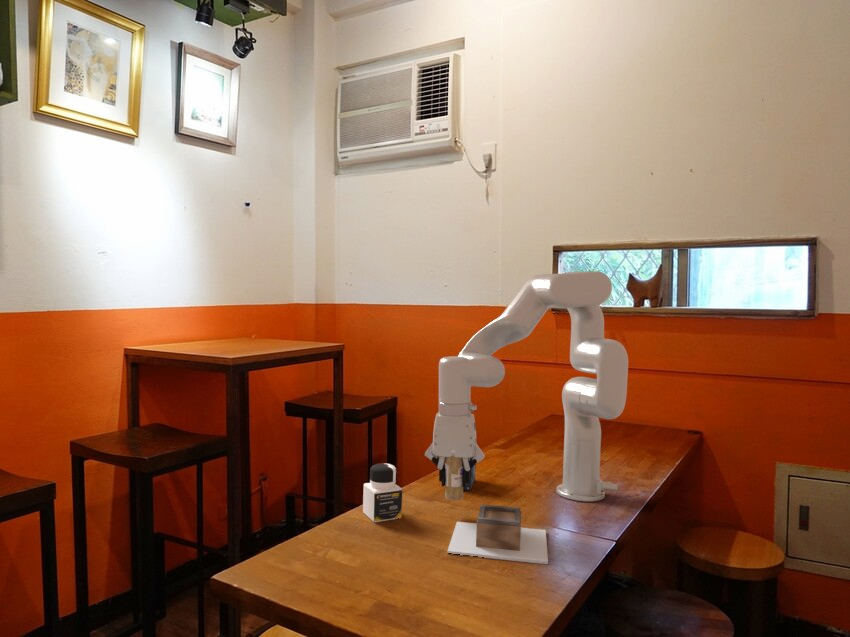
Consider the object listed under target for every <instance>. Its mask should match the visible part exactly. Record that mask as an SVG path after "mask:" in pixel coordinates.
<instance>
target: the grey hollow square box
mask: <svg viewBox="0 0 850 637" xmlns="http://www.w3.org/2000/svg"><path fill="white" fill-rule="evenodd" d="M476 523H477V529H476V547H485V548H495V549H505V550H515V551H520V536H521V528H522V527H521V526H522V511H521V507H517V506H513V507H512V506H505V505H503V506H502V505H493V504H492V505H491V504H481V503H480V507H479V512H478V515H477V519H476Z"/></svg>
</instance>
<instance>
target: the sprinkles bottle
mask: <svg viewBox="0 0 850 637" xmlns="http://www.w3.org/2000/svg"><path fill="white" fill-rule="evenodd" d="M451 452H452V453H455V450H452V451H451ZM452 453H451V454H452ZM444 464H445V486H444V487H445V490H444V492H445V495H444V498H445V500H448V501H451V502H456V501H457V502H458V501H462V500H463V499H464V497H465V496H464V490H463V459H462V458H457V457H455V456H453V455H452V456H451V457H445V463H444Z"/></svg>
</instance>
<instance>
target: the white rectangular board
mask: <svg viewBox="0 0 850 637" xmlns="http://www.w3.org/2000/svg"><path fill="white" fill-rule="evenodd" d="M476 529H477V522H466V521H465V522H464V521H456V524H455V526H454V530H453V533H452V536H451V538H450V542H449V544H448V547H447V548H448V549H447V551H446V554H447V553H453V554H460V555H459V556H463V555H470V556H469V557H473V556H478V557H477V558H482V557H484V559H493V560H502V561H514V562H521V563H522V562H523V563H530V564H531V563H532V564H541V565H548V564H549V558H548V557H549V556H548V546H547V544H548V542H547V531H546V530H547V529H542V528H541V529H540V528H528V527H521V536H520V551H515V550H505V549H495V548H485V547H476ZM453 554H452V555H453Z"/></svg>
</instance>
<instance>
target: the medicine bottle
mask: <svg viewBox="0 0 850 637" xmlns="http://www.w3.org/2000/svg"><path fill="white" fill-rule="evenodd" d="M369 471H370V472H369V482H365V483H363V491H362V492H363V495H362V512H363V513H364V515H366V517H368V518H369V519H370V520H371V521H372V523H379V522H385V521H391V520H397V519H398V518H399V519H401V518H402V515H403V512H402V510H403V488H402V487H400V486H399V485H397V484H396V482H397V480H396V478H397V476H396V475H397V468H396V467H395V465H393V464H391V463H381V462H380V463H376V464H374V465H372V466H371V467H370V470H369Z"/></svg>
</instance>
